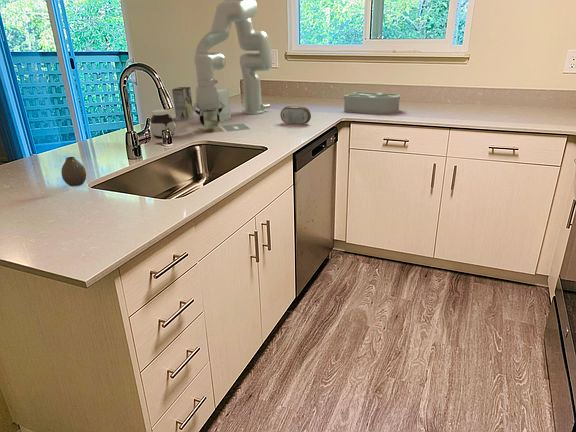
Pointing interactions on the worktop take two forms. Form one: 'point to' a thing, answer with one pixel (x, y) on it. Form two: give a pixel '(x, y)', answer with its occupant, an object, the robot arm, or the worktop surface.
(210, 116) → the sage block
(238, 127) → the plate
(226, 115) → the skincare box
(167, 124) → the spread jar
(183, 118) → the coffee box
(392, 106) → the compartment organizer box
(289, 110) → the tin
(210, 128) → the pad
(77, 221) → the worktop surface
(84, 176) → the vase
